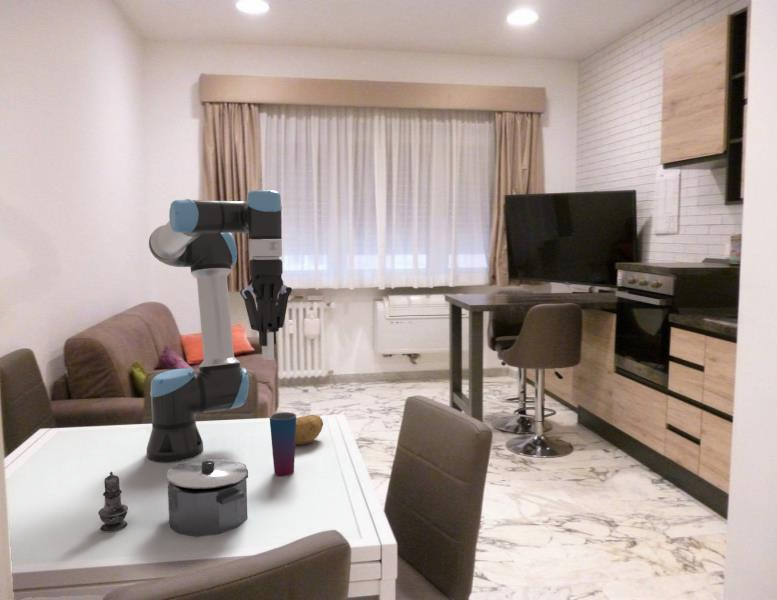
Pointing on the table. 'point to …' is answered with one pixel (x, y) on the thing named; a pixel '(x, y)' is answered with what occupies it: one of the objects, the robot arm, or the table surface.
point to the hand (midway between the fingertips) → (268, 359)
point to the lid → (207, 473)
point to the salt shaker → (113, 506)
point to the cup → (283, 442)
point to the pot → (207, 508)
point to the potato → (307, 428)
